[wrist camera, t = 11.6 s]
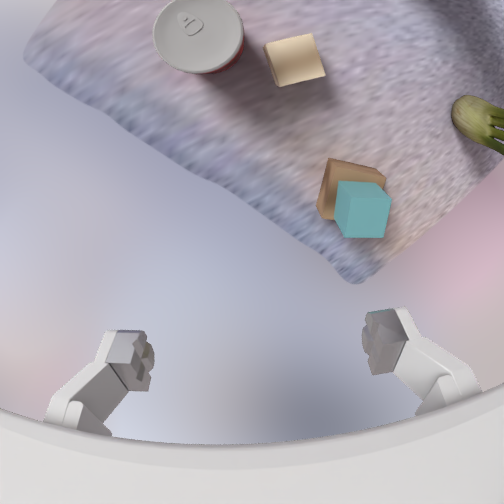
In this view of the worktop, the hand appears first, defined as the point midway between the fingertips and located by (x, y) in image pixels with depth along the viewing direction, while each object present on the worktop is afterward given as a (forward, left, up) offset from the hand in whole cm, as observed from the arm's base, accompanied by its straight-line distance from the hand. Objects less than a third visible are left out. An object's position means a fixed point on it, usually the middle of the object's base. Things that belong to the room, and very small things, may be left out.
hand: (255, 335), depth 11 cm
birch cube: (-10, +6, -31) cm, 33 cm away
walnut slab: (+7, +13, -31) cm, 34 cm away
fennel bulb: (-5, +31, -31) cm, 44 cm away
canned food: (-13, -3, -31) cm, 33 cm away
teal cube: (+7, +13, -27) cm, 31 cm away
